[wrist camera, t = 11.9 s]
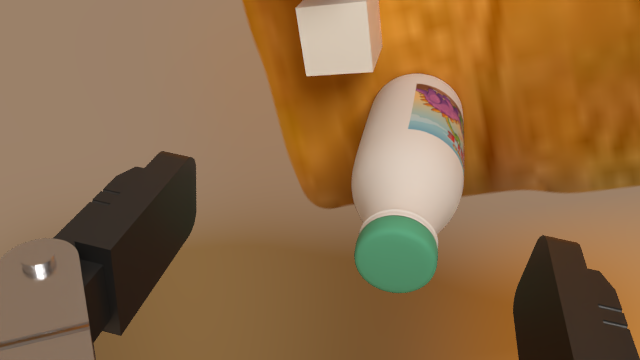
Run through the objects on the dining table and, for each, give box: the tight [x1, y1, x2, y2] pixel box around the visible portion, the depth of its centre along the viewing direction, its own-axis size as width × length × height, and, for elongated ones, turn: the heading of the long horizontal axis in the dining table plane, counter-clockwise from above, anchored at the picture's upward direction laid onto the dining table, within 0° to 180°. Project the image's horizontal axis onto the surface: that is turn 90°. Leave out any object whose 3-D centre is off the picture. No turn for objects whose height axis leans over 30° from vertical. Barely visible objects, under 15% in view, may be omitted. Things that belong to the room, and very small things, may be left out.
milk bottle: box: [352, 74, 464, 293], centre depth 38 cm, size 8×8×20 cm
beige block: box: [295, 0, 382, 76], centre depth 41 cm, size 5×5×6 cm
